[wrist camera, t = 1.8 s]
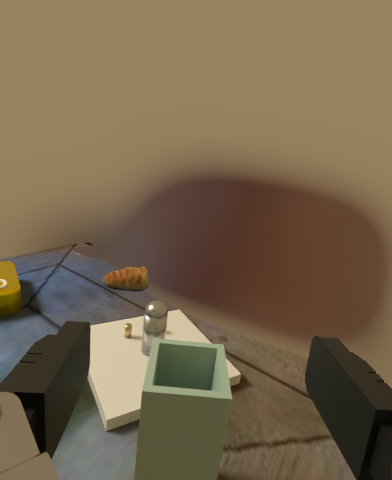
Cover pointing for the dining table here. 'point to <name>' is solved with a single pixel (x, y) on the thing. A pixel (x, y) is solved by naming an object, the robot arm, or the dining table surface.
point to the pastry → (127, 279)
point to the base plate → (133, 359)
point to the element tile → (9, 289)
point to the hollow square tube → (183, 411)
